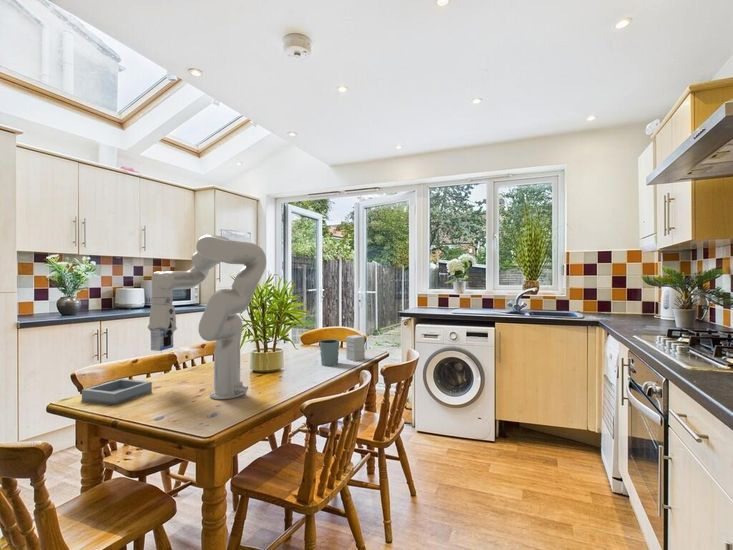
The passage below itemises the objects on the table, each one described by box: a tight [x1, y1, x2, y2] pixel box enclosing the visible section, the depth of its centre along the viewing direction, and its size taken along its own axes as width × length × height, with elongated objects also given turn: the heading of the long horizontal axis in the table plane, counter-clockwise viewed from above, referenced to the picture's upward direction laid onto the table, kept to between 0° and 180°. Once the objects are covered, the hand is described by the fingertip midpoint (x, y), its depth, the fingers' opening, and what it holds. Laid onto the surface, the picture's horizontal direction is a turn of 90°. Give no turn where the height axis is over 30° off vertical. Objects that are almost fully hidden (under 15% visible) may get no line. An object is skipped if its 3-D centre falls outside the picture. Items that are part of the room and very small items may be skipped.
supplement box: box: [345, 334, 366, 362], centre depth 211 cm, size 7×7×13 cm
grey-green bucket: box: [319, 339, 340, 367], centre depth 199 cm, size 10×10×12 cm
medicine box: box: [150, 329, 174, 352], centre depth 160 cm, size 8×4×9 cm, turn 167°
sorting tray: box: [81, 378, 153, 406], centre depth 148 cm, size 16×16×4 cm
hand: (162, 345), depth 160 cm, fingers closed on medicine box, 4 cm apart
